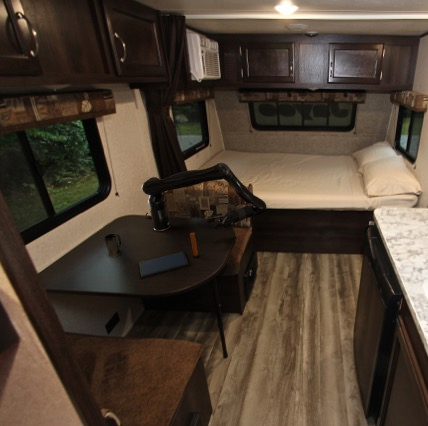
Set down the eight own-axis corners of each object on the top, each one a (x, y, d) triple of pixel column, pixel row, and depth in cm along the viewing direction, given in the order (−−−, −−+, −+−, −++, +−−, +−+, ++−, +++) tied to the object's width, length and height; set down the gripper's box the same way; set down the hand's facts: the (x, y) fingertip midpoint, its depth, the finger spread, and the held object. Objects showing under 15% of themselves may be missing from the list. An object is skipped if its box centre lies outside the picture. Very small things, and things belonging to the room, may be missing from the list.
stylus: (193, 255, 158) (189, 233, 152) (198, 254, 160) (194, 232, 154) (194, 257, 157) (190, 235, 151) (199, 256, 158) (195, 234, 152)
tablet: (139, 263, 151) (139, 261, 151) (184, 252, 161) (183, 250, 161) (141, 278, 140) (140, 276, 140) (188, 265, 150) (188, 263, 150)
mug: (106, 256, 157) (100, 236, 152) (113, 250, 162) (107, 231, 157) (120, 257, 156) (114, 237, 151) (127, 251, 161) (121, 232, 156)
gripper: (229, 206, 172) (203, 213, 161) (243, 213, 163) (217, 222, 152) (230, 217, 175) (205, 225, 165) (243, 225, 166) (218, 235, 156)
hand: (211, 224), depth 159 cm, fingers open, 8 cm apart
